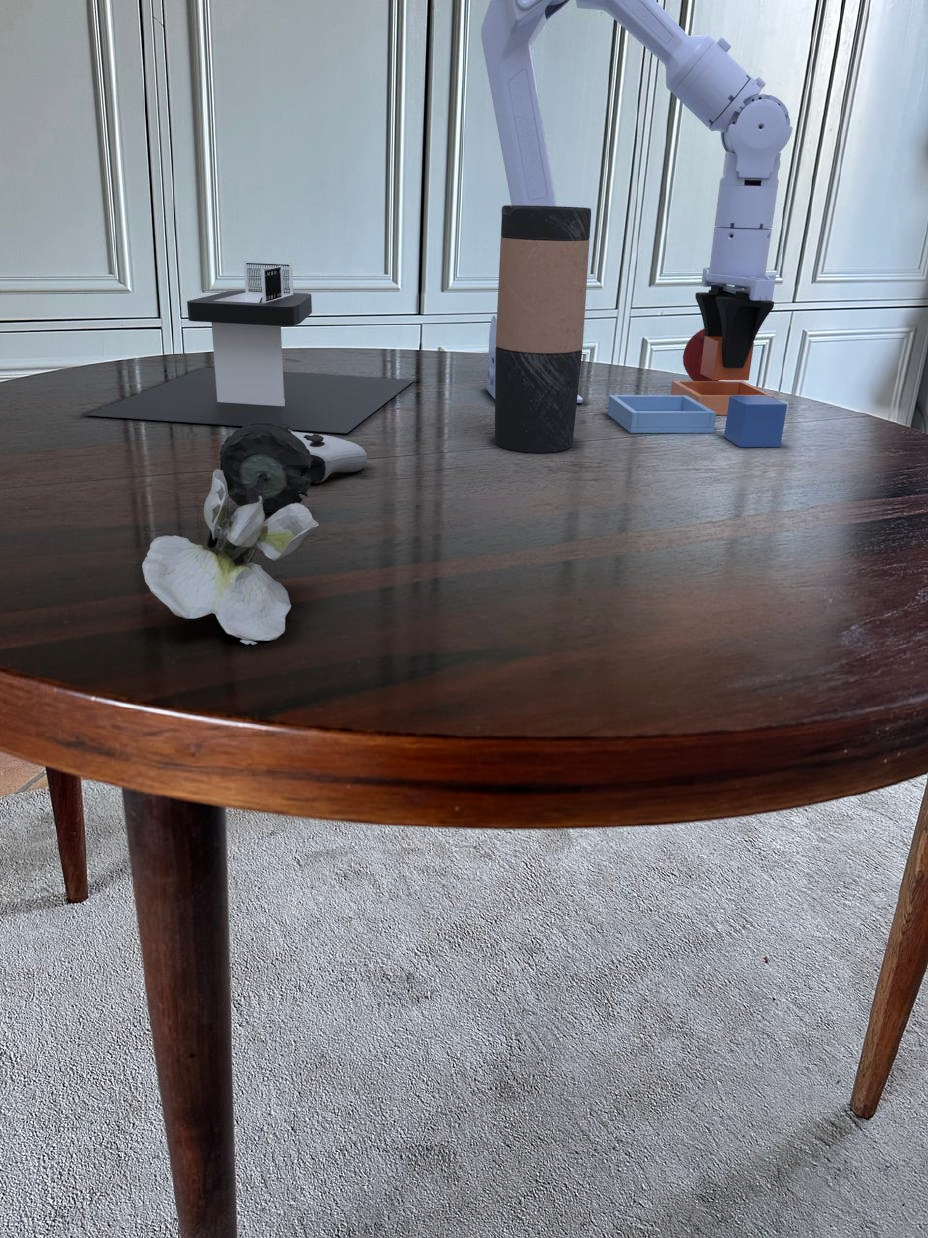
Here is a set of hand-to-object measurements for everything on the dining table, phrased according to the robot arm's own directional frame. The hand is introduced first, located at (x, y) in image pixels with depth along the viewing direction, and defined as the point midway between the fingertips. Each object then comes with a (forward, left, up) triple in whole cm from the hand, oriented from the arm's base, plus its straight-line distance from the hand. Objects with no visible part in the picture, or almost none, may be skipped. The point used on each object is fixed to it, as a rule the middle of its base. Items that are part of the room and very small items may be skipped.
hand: (725, 363), depth 106 cm
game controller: (-45, -25, -5) cm, 52 cm away
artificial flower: (-47, -47, -5) cm, 67 cm away
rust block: (0, 0, -1) cm, 1 cm away
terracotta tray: (0, 0, -5) cm, 5 cm away
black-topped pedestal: (-49, +5, -5) cm, 49 cm away
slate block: (-3, -16, -5) cm, 17 cm away
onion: (+2, +10, -5) cm, 11 cm away
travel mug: (-24, -16, -5) cm, 29 cm away
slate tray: (-10, -8, -5) cm, 13 cm away
